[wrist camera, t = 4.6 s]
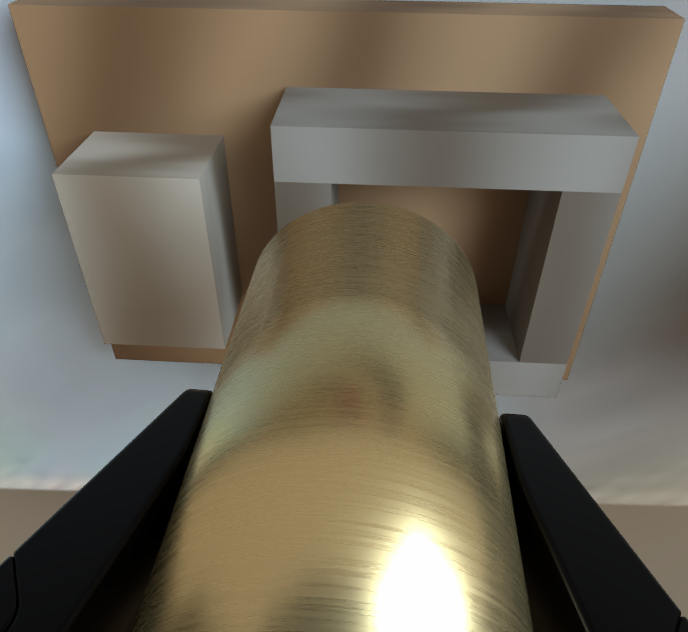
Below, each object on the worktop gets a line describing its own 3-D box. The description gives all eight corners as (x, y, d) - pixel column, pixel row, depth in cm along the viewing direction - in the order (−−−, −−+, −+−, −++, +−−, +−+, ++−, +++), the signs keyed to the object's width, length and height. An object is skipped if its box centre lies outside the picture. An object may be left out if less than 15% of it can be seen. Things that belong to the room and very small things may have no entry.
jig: (664, 6, 17) (736, 51, 13) (559, 353, 25) (586, 439, 22) (33, -7, 18) (-56, 32, 14) (128, 335, 26) (86, 414, 22)
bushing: (497, 210, 10) (638, 769, 4) (458, 391, 13) (509, 890, 7) (243, 193, 11) (17, 705, 4) (258, 375, 13) (131, 850, 7)
